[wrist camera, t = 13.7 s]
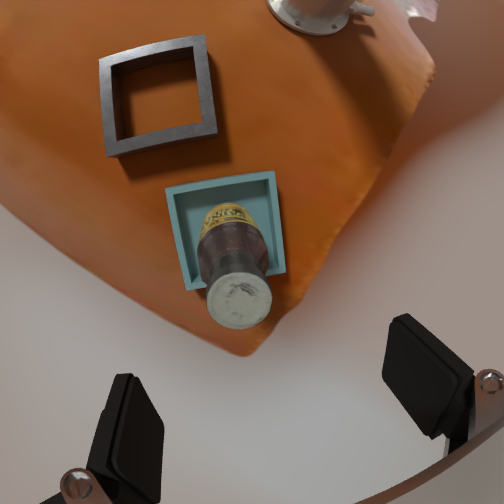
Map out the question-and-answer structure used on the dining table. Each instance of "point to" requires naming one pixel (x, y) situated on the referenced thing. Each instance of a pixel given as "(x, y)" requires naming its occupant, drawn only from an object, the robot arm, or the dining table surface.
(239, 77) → the dining table surface
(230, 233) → the sauce bottle
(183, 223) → the teal tray
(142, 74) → the dining table surface
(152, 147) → the steel collar
